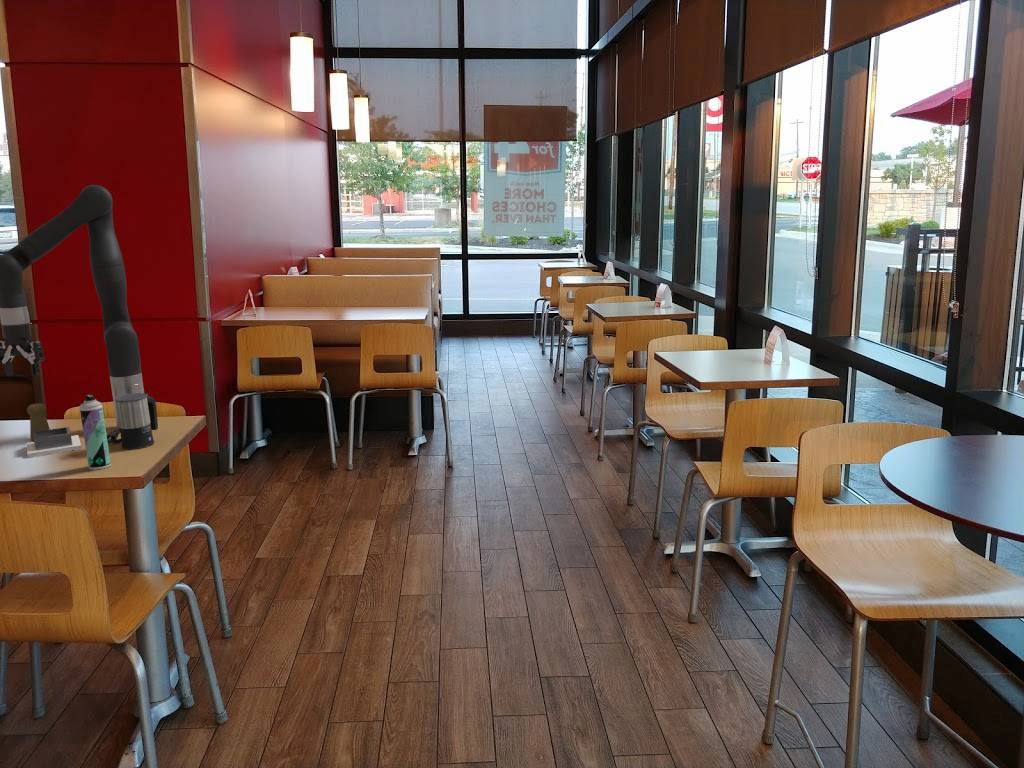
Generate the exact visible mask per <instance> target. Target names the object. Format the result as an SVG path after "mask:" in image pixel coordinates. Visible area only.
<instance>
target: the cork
mask: <svg viewBox="0 0 1024 768" xmlns="http://www.w3.org/2000/svg"><path fill="white" fill-rule="evenodd" d="M26 412H27V414H28V415H29V426H30V428H29V429H30V430H29V431H30V433H29V434H30V435H29V436H30V442H33V441H34V434H33V432H36V431H43V430H49V429H51V428H50V426H49V423H48V420H47V415H46V413H47V407H46V405H45V404H44V403H32V404H30V405H28V406H27V408H26Z"/></svg>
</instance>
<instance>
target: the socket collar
mask: <svg viewBox="0 0 1024 768" xmlns="http://www.w3.org/2000/svg"><path fill="white" fill-rule="evenodd" d="M33 434H34V443H35V449H36V451H37V450H43V449H50V448H56V447H63V446H69V445H72V439H71V436H72V434H71V430H70V426H65V427H58V428H57V427H56V428H50V429H49V430H43V431H36V432H33Z"/></svg>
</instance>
